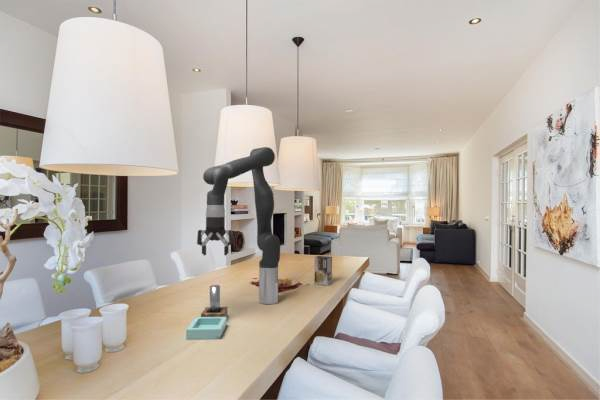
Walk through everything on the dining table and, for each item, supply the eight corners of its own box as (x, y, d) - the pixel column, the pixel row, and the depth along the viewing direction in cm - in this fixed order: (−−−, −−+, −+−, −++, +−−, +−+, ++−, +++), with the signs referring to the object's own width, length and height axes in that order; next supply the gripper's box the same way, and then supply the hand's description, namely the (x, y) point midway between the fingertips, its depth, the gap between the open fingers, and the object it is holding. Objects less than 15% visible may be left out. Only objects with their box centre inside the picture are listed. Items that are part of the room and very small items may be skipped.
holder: (227, 316, 145) (227, 306, 145) (223, 323, 136) (223, 313, 136) (206, 316, 145) (206, 307, 145) (200, 324, 136) (201, 314, 136)
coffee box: (332, 283, 204) (332, 256, 204) (327, 285, 198) (327, 258, 198) (319, 281, 209) (319, 255, 209) (313, 283, 203) (314, 256, 203)
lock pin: (220, 318, 142) (220, 285, 142) (218, 321, 138) (218, 287, 138) (210, 318, 142) (211, 285, 142) (208, 321, 138) (208, 287, 138)
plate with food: (278, 294, 183) (278, 287, 183) (249, 284, 202) (249, 278, 202) (310, 287, 200) (310, 281, 200) (280, 278, 219) (281, 272, 219)
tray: (226, 325, 134) (226, 316, 134) (220, 339, 121) (220, 329, 121) (195, 326, 133) (195, 317, 133) (186, 339, 120) (186, 329, 120)
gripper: (234, 215, 145) (233, 253, 144) (200, 215, 144) (199, 253, 144) (231, 216, 137) (231, 256, 137) (195, 216, 136) (195, 256, 136)
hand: (215, 255), depth 140 cm, fingers open, 8 cm apart
